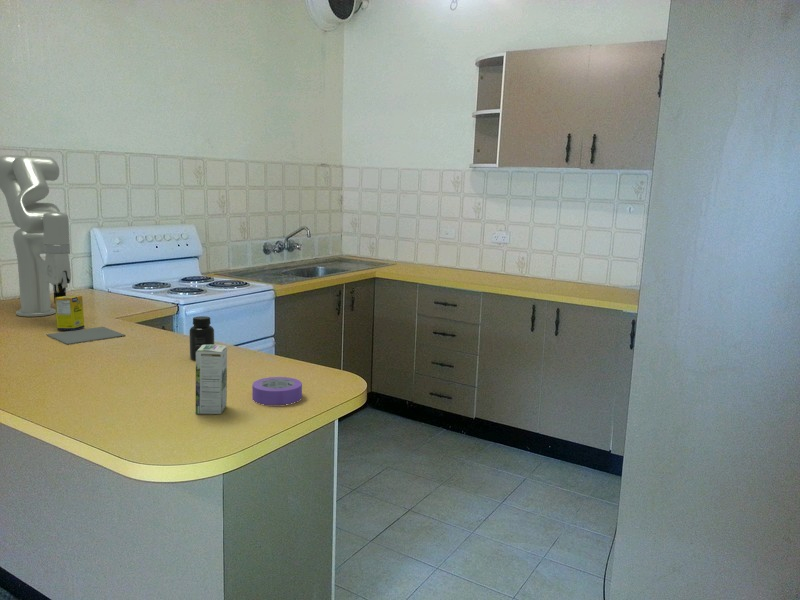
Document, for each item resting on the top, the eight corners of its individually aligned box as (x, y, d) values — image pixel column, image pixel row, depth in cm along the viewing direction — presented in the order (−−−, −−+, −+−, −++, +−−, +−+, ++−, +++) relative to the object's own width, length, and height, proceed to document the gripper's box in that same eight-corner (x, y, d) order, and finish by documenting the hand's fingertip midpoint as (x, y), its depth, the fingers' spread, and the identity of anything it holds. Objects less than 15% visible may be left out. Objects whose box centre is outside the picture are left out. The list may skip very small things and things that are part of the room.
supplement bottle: (219, 357, 182) (219, 317, 180) (203, 362, 176) (202, 321, 174) (201, 353, 185) (200, 314, 183) (184, 358, 179) (183, 318, 177)
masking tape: (256, 390, 155) (256, 375, 154) (303, 391, 156) (303, 376, 155) (248, 406, 143) (248, 390, 143) (299, 407, 144) (299, 391, 144)
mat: (46, 335, 199) (46, 334, 199) (103, 327, 212) (103, 326, 212) (67, 344, 189) (67, 343, 188) (125, 336, 202) (125, 334, 202)
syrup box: (201, 405, 142) (200, 343, 139) (227, 406, 142) (227, 344, 140) (195, 414, 136) (194, 350, 134) (222, 414, 137) (222, 350, 134)
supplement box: (84, 327, 210) (82, 295, 209) (74, 330, 204) (71, 297, 203) (68, 327, 211) (65, 295, 209) (56, 330, 205) (54, 297, 204)
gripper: (36, 248, 210) (39, 301, 213) (54, 252, 201) (57, 308, 204) (60, 247, 216) (62, 299, 219) (78, 251, 206) (81, 305, 209)
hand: (60, 303), depth 211 cm, fingers closed
